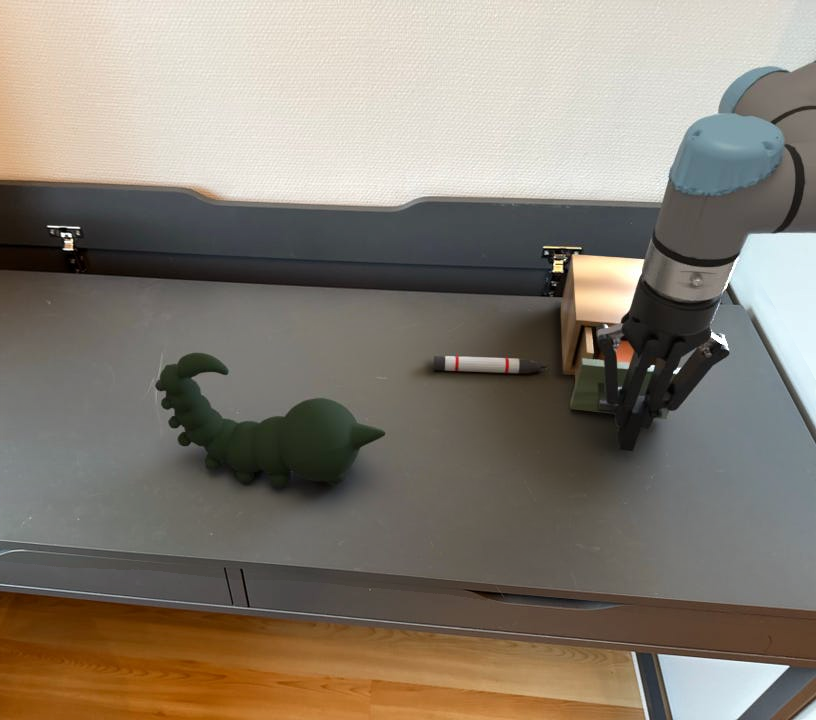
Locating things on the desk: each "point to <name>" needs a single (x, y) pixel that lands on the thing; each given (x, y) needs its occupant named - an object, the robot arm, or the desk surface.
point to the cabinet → (595, 297)
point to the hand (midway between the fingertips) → (624, 442)
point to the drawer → (599, 376)
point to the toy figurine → (264, 431)
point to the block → (622, 352)
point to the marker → (486, 364)
